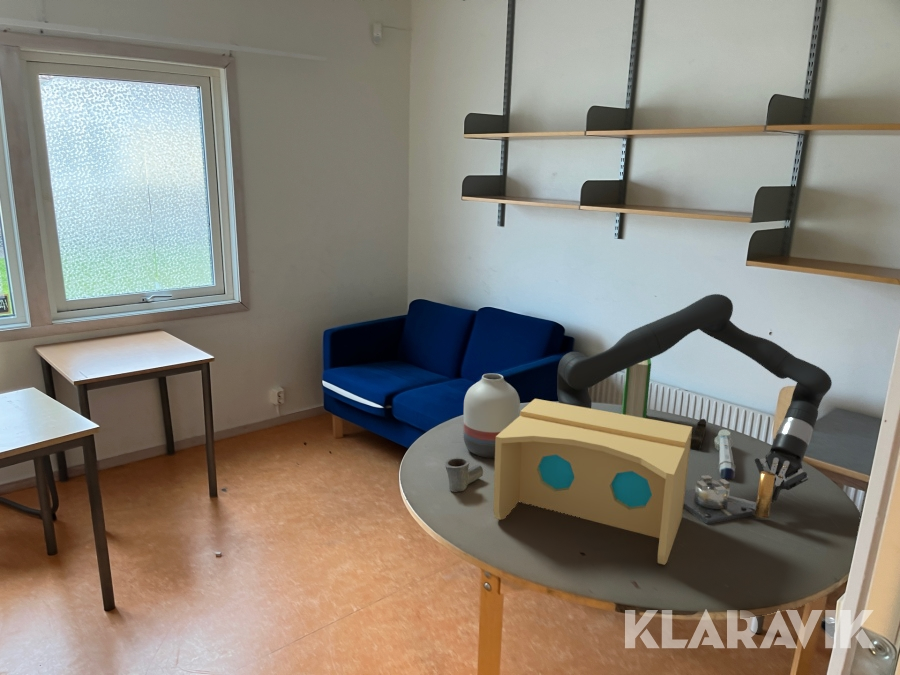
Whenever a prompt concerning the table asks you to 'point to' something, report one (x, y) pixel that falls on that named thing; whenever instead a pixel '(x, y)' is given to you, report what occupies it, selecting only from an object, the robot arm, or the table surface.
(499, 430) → the vase
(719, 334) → the robot arm
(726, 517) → the hub plate
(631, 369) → the hardback book
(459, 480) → the pipe
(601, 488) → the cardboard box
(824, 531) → the table surface
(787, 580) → the table surface
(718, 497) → the crank handle
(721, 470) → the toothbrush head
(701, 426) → the hand tool
